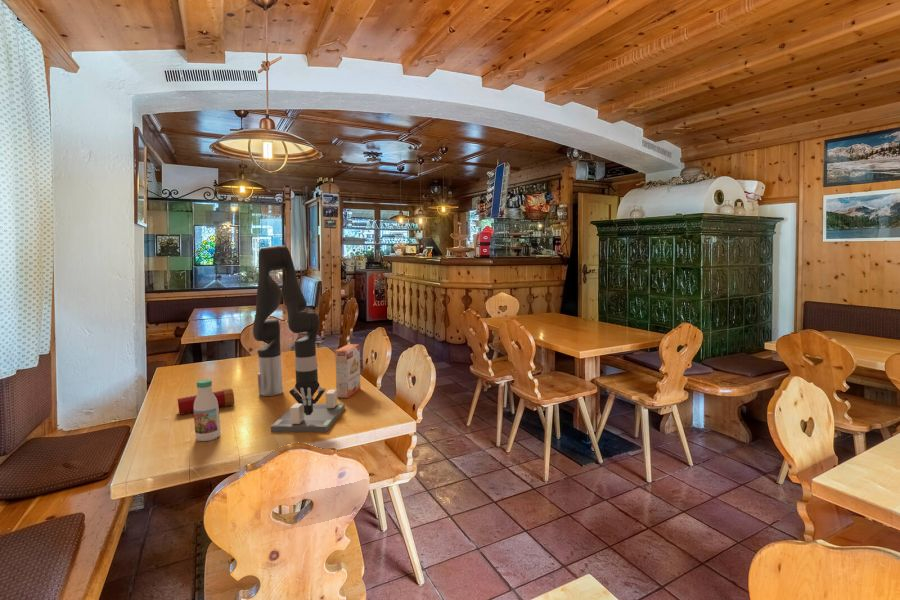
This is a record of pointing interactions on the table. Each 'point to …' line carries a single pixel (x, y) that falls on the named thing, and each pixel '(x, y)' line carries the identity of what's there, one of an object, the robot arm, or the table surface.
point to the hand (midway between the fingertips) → (308, 414)
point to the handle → (331, 398)
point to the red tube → (222, 396)
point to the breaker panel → (310, 420)
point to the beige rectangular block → (297, 413)
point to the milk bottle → (206, 412)
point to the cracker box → (347, 370)
